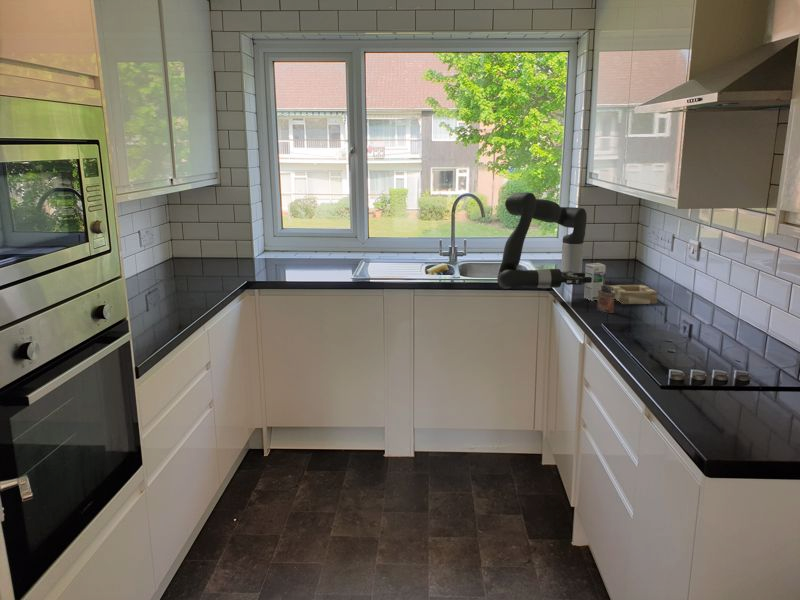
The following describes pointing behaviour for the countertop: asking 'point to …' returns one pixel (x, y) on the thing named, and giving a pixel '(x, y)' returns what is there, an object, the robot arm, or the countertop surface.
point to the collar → (634, 294)
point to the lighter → (606, 299)
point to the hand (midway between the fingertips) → (588, 277)
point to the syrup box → (594, 280)
